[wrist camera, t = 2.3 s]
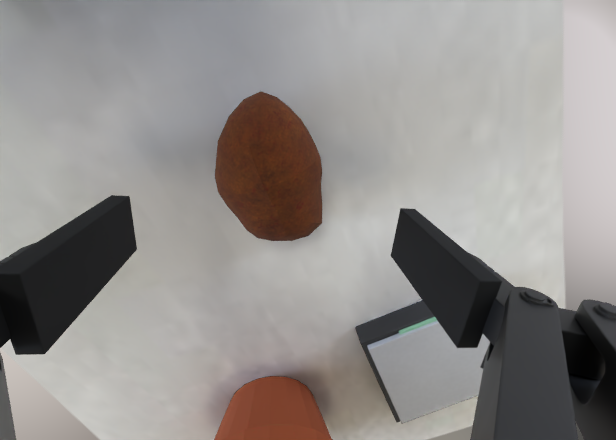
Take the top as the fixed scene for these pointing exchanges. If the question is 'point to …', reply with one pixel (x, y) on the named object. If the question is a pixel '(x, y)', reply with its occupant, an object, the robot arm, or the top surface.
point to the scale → (420, 362)
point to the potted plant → (273, 412)
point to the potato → (270, 170)
